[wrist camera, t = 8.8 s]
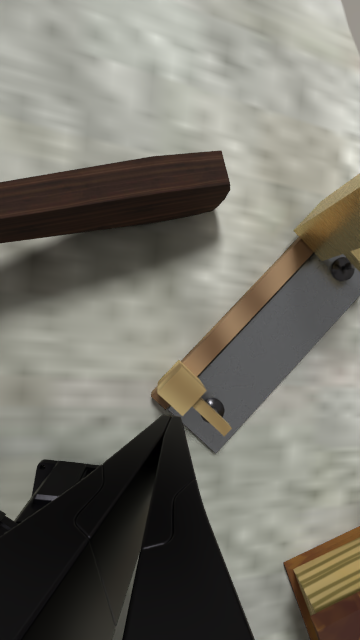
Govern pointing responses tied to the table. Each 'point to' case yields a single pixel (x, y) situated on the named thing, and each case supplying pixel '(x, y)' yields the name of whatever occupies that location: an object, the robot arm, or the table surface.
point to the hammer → (112, 195)
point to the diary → (329, 587)
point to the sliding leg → (335, 225)
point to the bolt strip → (272, 344)
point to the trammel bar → (224, 340)
